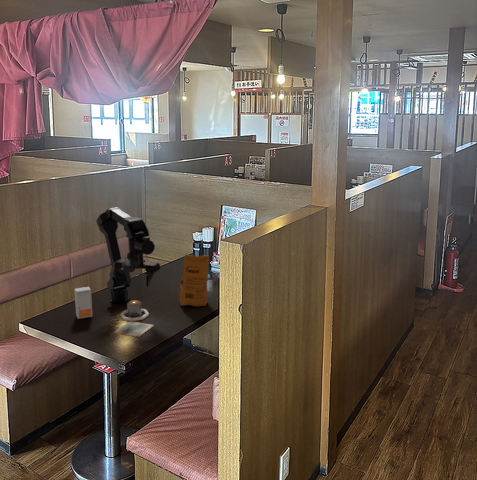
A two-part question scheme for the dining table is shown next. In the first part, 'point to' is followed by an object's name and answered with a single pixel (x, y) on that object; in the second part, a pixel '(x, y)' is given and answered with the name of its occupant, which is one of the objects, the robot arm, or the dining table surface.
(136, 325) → the coaster board
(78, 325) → the dining table surface
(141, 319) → the collar
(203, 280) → the coffee package
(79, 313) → the skincare box
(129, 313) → the round spotlight head
